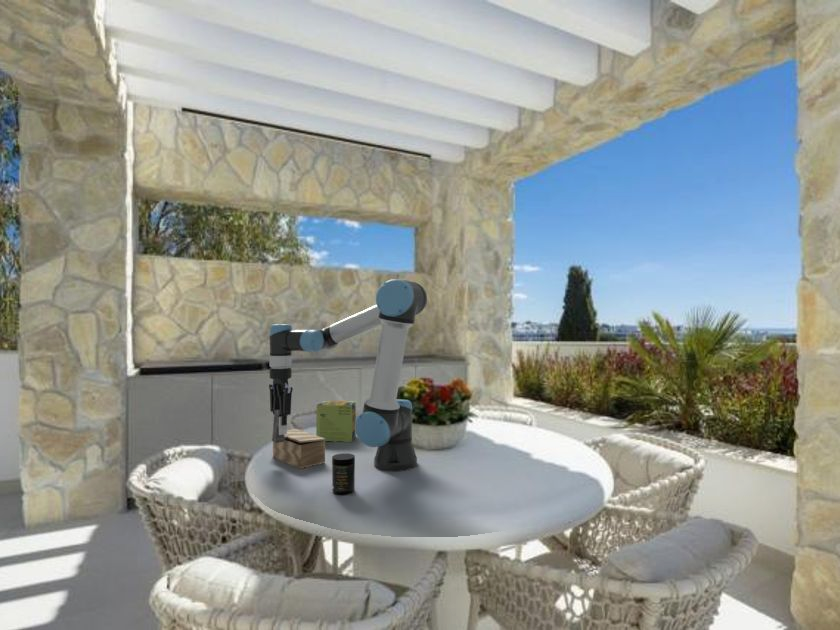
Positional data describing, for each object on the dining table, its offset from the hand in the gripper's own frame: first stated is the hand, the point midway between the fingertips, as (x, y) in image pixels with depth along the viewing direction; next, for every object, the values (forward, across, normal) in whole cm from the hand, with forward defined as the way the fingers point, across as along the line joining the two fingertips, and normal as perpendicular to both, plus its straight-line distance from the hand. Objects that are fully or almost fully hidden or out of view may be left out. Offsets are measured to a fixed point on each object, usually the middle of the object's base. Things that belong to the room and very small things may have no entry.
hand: (280, 433), depth 168 cm
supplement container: (+11, -38, -1) cm, 40 cm away
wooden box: (+11, 0, -7) cm, 13 cm away
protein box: (+11, +16, -34) cm, 39 cm away
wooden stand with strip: (+3, 0, -5) cm, 6 cm away
